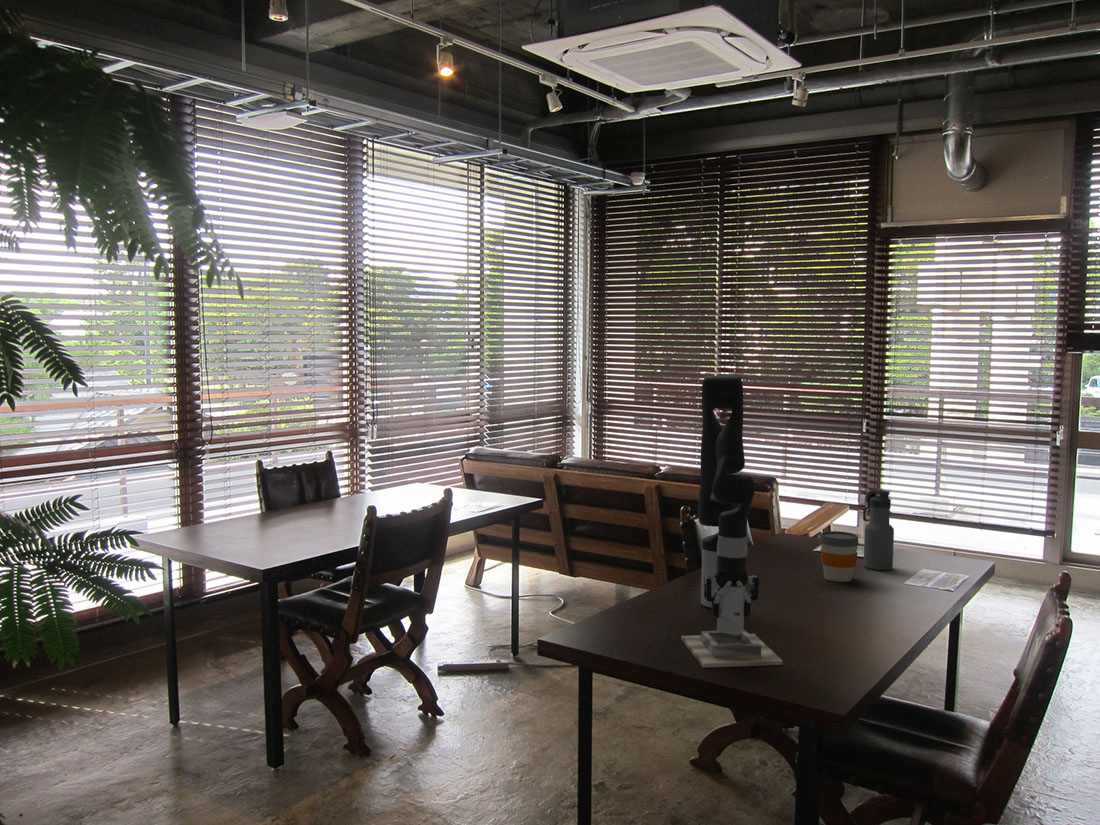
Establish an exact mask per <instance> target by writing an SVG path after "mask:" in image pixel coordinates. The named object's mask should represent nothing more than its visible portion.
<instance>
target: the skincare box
mask: <svg viewBox="0 0 1100 825" xmlns="http://www.w3.org/2000/svg"><path fill="white" fill-rule="evenodd" d="M746 587H747V586H746V585H745V586H744V588H745V589H746ZM744 588H743V587H738V586H730V587H729V588H728V589H727V591H726V592H725V594H724V596H723V597H721V599H720V600H719V602H718V604H719V618H716V619H717V620H716V631H717V632H722V633H727V634H733V635H740V634H741V633H742V632H743V630H744V627H745V626H744V625H745V624H744V623H745V617H744V607H745V598H744V596H743V592H744V591H743V589H744ZM720 590H721V588H720V586H719V591H720Z"/></svg>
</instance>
